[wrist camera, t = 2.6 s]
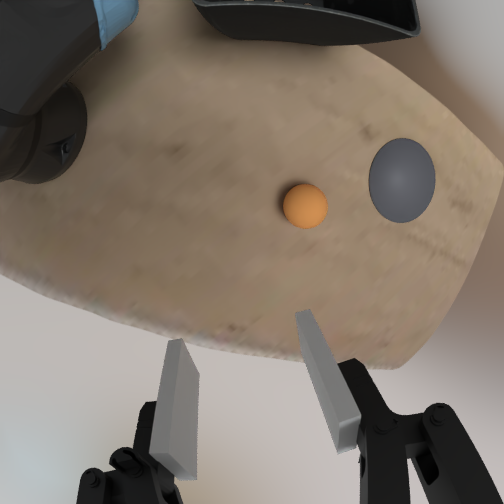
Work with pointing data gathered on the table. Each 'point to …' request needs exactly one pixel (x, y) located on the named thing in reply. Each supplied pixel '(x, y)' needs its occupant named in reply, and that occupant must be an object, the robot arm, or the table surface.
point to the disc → (402, 180)
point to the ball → (305, 206)
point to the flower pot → (314, 20)
